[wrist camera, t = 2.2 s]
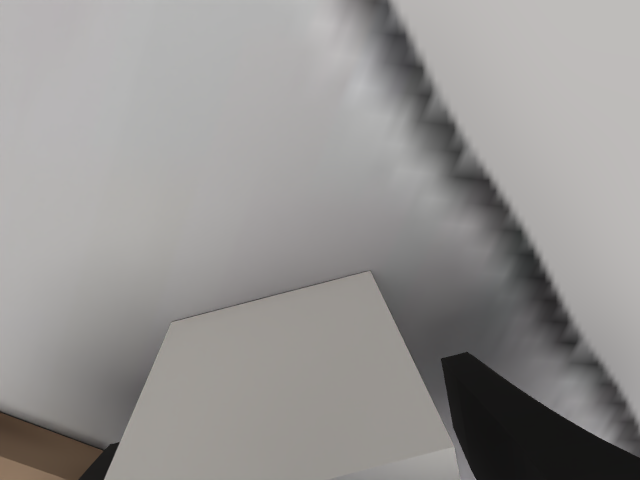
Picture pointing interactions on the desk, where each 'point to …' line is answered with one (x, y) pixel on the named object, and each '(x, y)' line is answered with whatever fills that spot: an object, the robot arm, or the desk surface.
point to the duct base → (40, 453)
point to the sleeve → (287, 395)
